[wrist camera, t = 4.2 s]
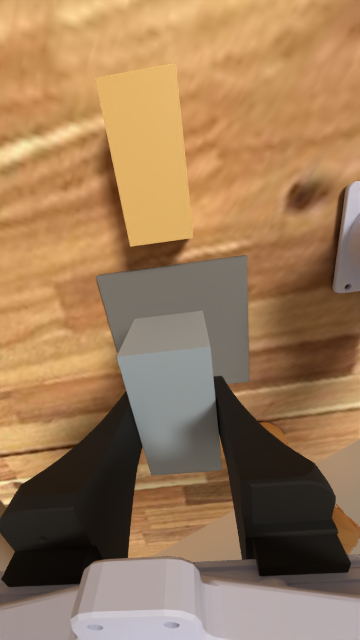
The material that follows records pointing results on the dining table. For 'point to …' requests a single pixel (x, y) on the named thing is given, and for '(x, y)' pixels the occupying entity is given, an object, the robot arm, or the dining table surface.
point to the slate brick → (172, 392)
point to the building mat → (187, 305)
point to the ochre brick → (148, 152)
